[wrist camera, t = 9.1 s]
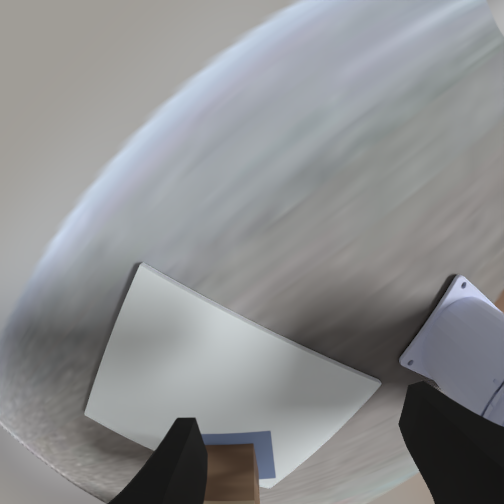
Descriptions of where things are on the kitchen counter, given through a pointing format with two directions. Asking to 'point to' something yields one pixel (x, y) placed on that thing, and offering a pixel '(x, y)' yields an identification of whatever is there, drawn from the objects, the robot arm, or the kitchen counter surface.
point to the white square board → (219, 378)
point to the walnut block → (232, 473)
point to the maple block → (229, 502)
